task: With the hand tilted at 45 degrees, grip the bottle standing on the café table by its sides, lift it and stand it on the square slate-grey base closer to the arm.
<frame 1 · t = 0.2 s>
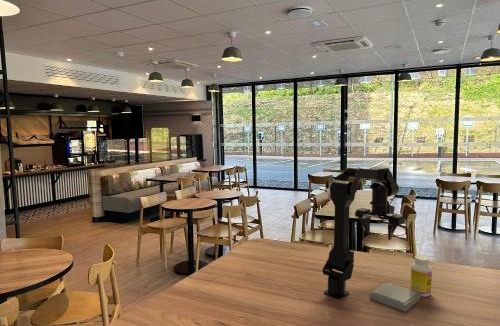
hand: (378, 237, 143), 15 cm above the table, tool pointing down, fingers open, 9 cm apart
supplement bottle: (420, 293, 127), on the table
slate base: (395, 299, 122), on the table
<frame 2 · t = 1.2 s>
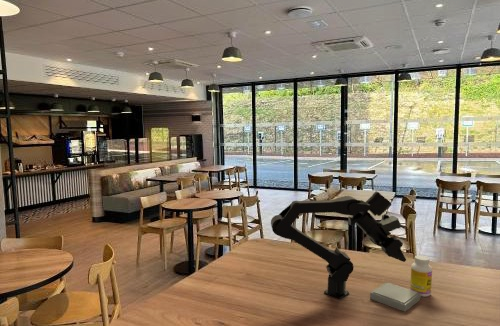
hand: (399, 256, 126), 13 cm above the table, tool tilted 45°, fingers open, 9 cm apart
nothing on the table moved.
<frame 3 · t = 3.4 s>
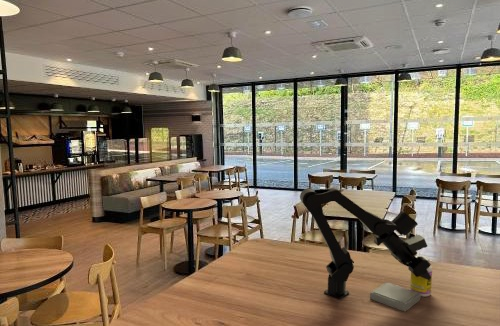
hand: (425, 274, 126), 7 cm above the table, tool tilted 45°, fingers closed on supplement bottle, 7 cm apart
supplement bottle: (420, 293, 127), on the table, touching gripper
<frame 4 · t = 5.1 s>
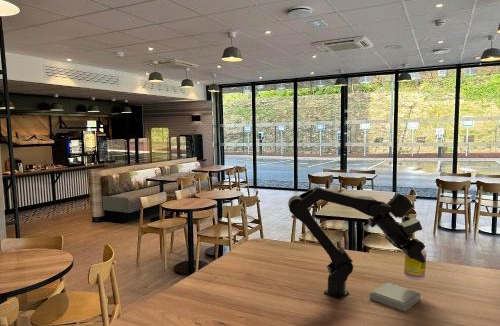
hand: (419, 258, 125), 13 cm above the table, tool tilted 45°, fingers closed on supplement bottle, 7 cm apart
supplement bottle: (414, 277, 125), point 6 cm above the table, touching gripper
when the fingers open (10 cm above the table, at t = 6.9 s): supplement bottle drops 1 cm, resting on slate base.
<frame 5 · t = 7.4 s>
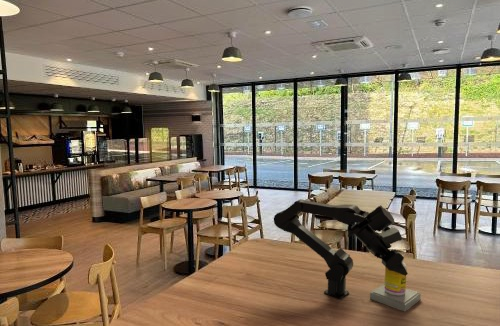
hand: (400, 269, 121), 11 cm above the table, tool tilted 45°, fingers open, 9 cm apart
supplement bottle: (394, 292, 122), point 2 cm above the table, touching slate base
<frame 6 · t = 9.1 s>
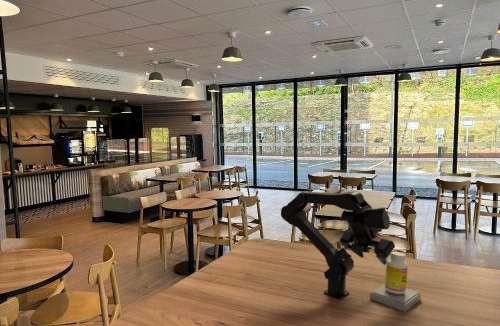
hand: (373, 260, 127), 11 cm above the table, tool tilted 30°, fingers open, 9 cm apart
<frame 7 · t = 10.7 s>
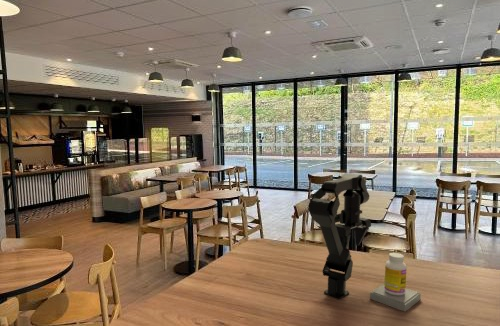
hand: (350, 248, 135), 13 cm above the table, tool pointing down, fingers open, 9 cm apart
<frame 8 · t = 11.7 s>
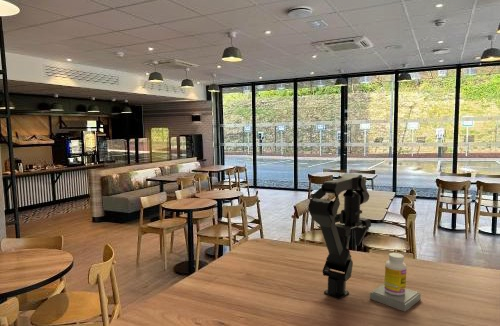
hand: (350, 248, 135), 13 cm above the table, tool pointing down, fingers open, 9 cm apart
nothing on the table moved.
at the end: supplement bottle inside the target area on the slate base (0.3 cm from its centre), point 2.3 cm above the slate base's base; supplement bottle tilted 0°; the gripper is holding nothing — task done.
